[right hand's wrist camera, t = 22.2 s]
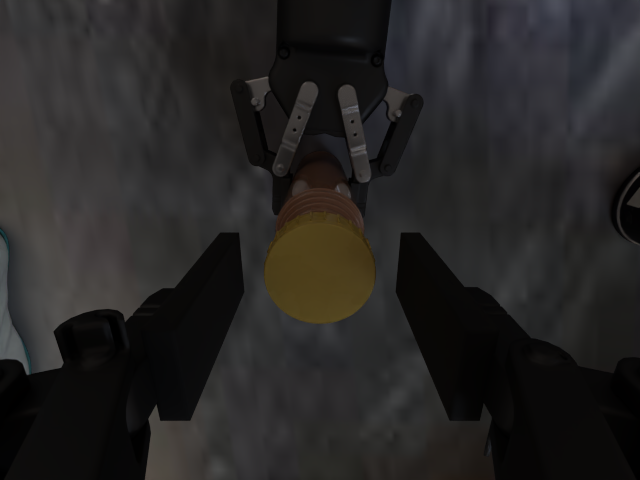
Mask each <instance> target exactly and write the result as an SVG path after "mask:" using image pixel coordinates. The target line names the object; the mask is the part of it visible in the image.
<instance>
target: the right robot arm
mask: <svg viewBox="0 0 640 480" xmlns="http://www.w3.org/2000/svg"><path fill="white" fill-rule="evenodd" d="M243 294H244V283H243V272H242V261H241V250H240V239H239V233H220V234H219V235H218V236H217V237H216V238H215V240H214V241H213V242H212V243H211V245H210V246H209V247H208V248H207V249H206V251H205V252H204V253H203V254H202V256H201V257H200V258H199V259H198V260H197V262H196V263H195V264H194V265H193V266H192V268H191V269H190V270H189V271H188V273H187V274H186V275H185V276H184V277H183V279H182V280H181V281H180V282H179V284H178V285H177V286H176V287H175V288H163V289H161V290H159V291H157V292H156V293H154V294H152V295H151V296H149V297H148V298H147V299H146V300H145V301H144V302H143V304H142V305H141V306H140V308H138V309H137V310H136V311H135V312H134V313H133V316H131V317H130V318H129V319H128V320H127V321H126V322H125V321H124V316H123V314H122V313H121V312H119V311H118V310H111V309H102V310H94V311H90V312H86V313H83V314H80V315H78V316H75V317H73V318H70V319H69V320H67V321H65V322H64V323H62V324H60V325H59V326H58V327H57V328H56V330H55V331H54V335H55V338H56V341H57V344H58V347H59V350H60V353H61V356H62V359H63V362H64V364H63V366H62V368H58V369H53V370H49V371H44V372H39V373H34V374H29V375H27V374H26V371H25V369H24V366H23V363H21V362H20V361H18V360H17V359H2V360H0V480H145V474H146V466H147V459H148V451H149V443H150V436H151V431H150V424H149V420H148V418H149V416H150V414H151V413H152V411H153V409H154V407H155V406H156V404H157V408H158V412H159V417H160V421H190V420H191V418H192V415H193V413H194V410H195V408H196V406H197V403H198V401H199V399H200V396H201V394H202V391H203V389H204V387H205V384H206V382H207V379H208V377H209V375H210V372H211V370H212V368H213V365H214V363H215V360H216V358H217V356H218V353H219V351H220V348H221V346H222V344H223V341H224V339H225V337H226V334H227V332H228V329H229V327H230V325H231V322H232V320H233V317H234V315H235V313H236V310H237V308H238V306H239V303H240V301H241V298H242V296H243ZM396 294H397V296H398V298H399V301H400V303H401V306H402V308H403V310H404V313H405V315H406V317H407V320H408V322H409V325H410V327H411V329H412V332H413V334H414V337H415V339H416V341H417V344H418V346H419V348H420V351H421V353H422V356H423V358H424V360H425V363H426V365H427V368H428V370H429V372H430V375H431V377H432V379H433V382H434V384H435V387H436V389H437V391H438V394H439V396H440V399H441V401H442V403H443V406H444V408H445V410H446V413H447V415H448V418H449V420H450V421H480V417H481V412H482V408H483V403H484V404H485V406H486V407H487V409H488V411H489V413H490V414H491V416H492V420H491V424H490V429H489V433H488V437H487V441H486V445H485V450H484V456H487V457H489V454H490V450H492V458H493V465H494V473H495V480H640V358H636V357H630V358H623V359H621V360H620V361H618V363H617V366H616V369H615V371H614V373H609V372H604V371H599V370H594V369H589V368H585V367H580V366H578V365H577V363H576V362H575V360H574V359H573V358H572V357H571V356H570V355H569V354H568V353H567V352H565V351H564V350H562V349H561V348H559V347H557V346H555V345H553V344H551V343H549V342H545V341H542V340H538V339H533V338H530V336H529V335H528V334H527V333H526V332H525V331H524V330H523V329H522V328H521V327H520V326H519V325H518V324H517V323H516V321H515V320H514V319H513V318H512V317H511V316H510V315H507V312H506V311H505V310H504V309H503V307H500V304H499V303H498V302H497V301H496V300H495V299H494V298H493V297H492V296H491V295H490V294H488V293H486V292H485V291H483V290H481V289H480V288H478V287H464V286H463V285H462V284H461V282H460V281H459V280H458V279H457V277H456V276H455V275H454V274H453V273H452V271H451V270H450V269H449V268H448V266H447V265H446V264H445V263H444V262H443V260H442V259H441V258H440V257H439V256H438V254H437V253H436V252H435V251H434V249H433V248H432V247H431V246H430V245H429V243H428V242H427V241H426V240H425V238H424V237H423V236H422V235H421V234H420V233H401V239H400V250H399V261H398V272H397V283H396Z"/></svg>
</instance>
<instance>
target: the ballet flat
mask: <svg viewBox="0 0 640 480" xmlns="http://www.w3.org/2000/svg"><path fill="white" fill-rule="evenodd" d="M8 266H9V243H8V239H7V236H6V234H5V233H4V232H3V230H2V229H0V360H2V359H17V360H18V361H20V362H21V363H23V366H24V369H25V371H26V374H27V375H29V374H31V362H30V357H29V354H28V351H27V349H26V346H25V344H24V343H23V341H22V339H21V337H20V336H19V334H18V333H17V331H16V329H15V327H14V326H13V324H12V319H11V317H10V313H9V310H8V287H7V274H8Z"/></svg>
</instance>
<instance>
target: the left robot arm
mask: <svg viewBox="0 0 640 480" xmlns="http://www.w3.org/2000/svg"><path fill="white" fill-rule="evenodd" d="M391 1H392V0H278V3H277V44H276V58H275V62H274V64H273V67H272V68H271V70H270V72H269V76H268V77H264V78H260V79H255V80H250V81H243V80H240V79H237V80H234V81H233V82H232V84H231V87H230V89H231V94H232V97H233V101H234V105H235V109H236V113H237V117H238V120H239V124H240V128H241V132H242V136H243V140H244V143H245V147H246V151H247V155H248V159H249V161H250V163H251V164H252V165H254V166H260V167H262V168H264V169H266V170H268V171H269V172H270V173H271V174H272V176H273V198H272V201H273V202H272V210H273V212H274V215H279V213H280V210H281V208H282V205H283V203H284V200H285V198H286V195H287V193H288V190H289V188H290V185H291V183H292V180H293V173H290V167H291V164H292V162H293V159H294V157H295V154H296V152H297V149H298V147H299V144H300V142H301V139H302V136H303V134H305V135H317V134H322V133H326V134H329V135H332V136H334V137H344V138H345V141H346V146H347V149H348V153H349V158H350V162H351V167H352V178H349V181H348V183H349V185H350V188H351V190H352V193H353V195H354V198H355V200H356V203H357V205H358V208H359V210H360V213H361V215H362V218H363V217H364V215H365V207H366V199H367V190H368V185H369V183H370V181H371V180H372V179H374V178H377V177H380V176H391V175H392V174H393V173H394V172H395V170H396V168H397V166H398V163H399V161H400V158H401V156H402V154H403V151H404V149H405V147H406V144H407V142H408V140H409V137H410V135H411V132H412V130H413V128H414V125H415V123H416V121H417V118H418V116H419V114H420V111H421V109H422V107H423V98H422V97H421V96H420V95H418V94H407V93H404V92H402V91H399V90H396V89H394V88H391V87H389V86H388V81H387V78H386V75H385V71H384V57H385V49H386V41H387V33H388V25H389V17H390V9H391ZM271 91H272V93H273V94H274V96H275V97H276V99H277V101H278V102H279V104H280V106H281V107H282V109H283V110H284V112H285V114H286V115H287V117H288V119H289V122H288V125H287V127H286V130H285V133H284V135H283V138H282V141H281V145H280V148H279V150H278V153H277V154H276V153H274V152H272V151H270V150H268V146H267V142H266V138H265V134H264V129H263V125H262V121H261V117H260V113H259V111H262V110H263V109H264V108H265V106H266V97H267V95H268V93H270V92H271ZM382 100H383V101H384V102H385V103H386V106H387V110H386V117H387V119H388V120H389V121H391V124H390V126H389V129H388V131H387V134H386V136H385V139H384V141H383V144H382V146H381V149H380V151H379V154H378V156H377V158H375V159H372V160H368V155H367V148H366V142H365V137H364V132H363V127H362V124H363V123H364V122H365V121H366V119H367V118H368V117H369V116H370V115H371V114H372V112H373V111H374V110H375V109H376V108H377V106H378V105H379V104H380V103H381V102H382ZM612 216H613V223H614V226H615V228H616V230H617V231H618V233H619V234H620V235H621V236H622V237H623V238H625V239H626V240H628V241H630V242H633V243H635V244H638V245H640V167H639V168H638V169H637V170H636V171H634V172H633V173H632V174H631V175H630V176H629V177H628V179H627V180H626V181H625V182H624V183H623V185H622V186H621V188H620V190H619V192H618V193H617V196H616V198H615V201H614V205H613V211H612Z"/></svg>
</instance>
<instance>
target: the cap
mask: <svg viewBox="0 0 640 480" xmlns="http://www.w3.org/2000/svg"><path fill="white" fill-rule="evenodd" d="M267 253H268V254H267V257H266V260H265V263H264V265H265V267H264V279H265V285H266V288H267V291H268V293H269V295H270V297H271V298H272V300H273V301H274V302H275V304H276V305H277V306H278V307H279V308H280V309H281V310H282V311H284V312H285V313H286V314H288V315H290V316H291V317H293V318H295V319H298V320H301V321H304V322H308V323H317V324H323V323H331V322H336V321H339V320H342V319H344V318H347V317H348V316H350V315H352V314H353V313H355V312H356V311H358V310H359V309H360V308H361V307H362V306H363V305H364V303H365V302H366V301H367V299H368V298H369V296H370V295H371V292H372V290H373V287H374V284H375V278H376V269H375V263H374V262H375V259H374V256H373V253H372V250H371V247H370V244H369V241H368V239H366V238H365V237H364V235H363V233H362V231H361V229H360V228H359V229H358V227H356V226H355V225H354V224H353V223H352V221H351V220H347V219H345V218H343V217H341V216H340V215H339V214H337V215H335V214H331V213H326V211H324V212H315V213H312V212H310V213H308V214H304V215H301V216H299V215H298V216H297V218H294V219H293V220H291V221H290V222H286V223H285V225H284V226H283V227H282V228H281V229H280V231H277V232H276V235H275V238H274V240H273V242H272V241H271V243H270V246H269V248H268V251H267Z"/></svg>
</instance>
